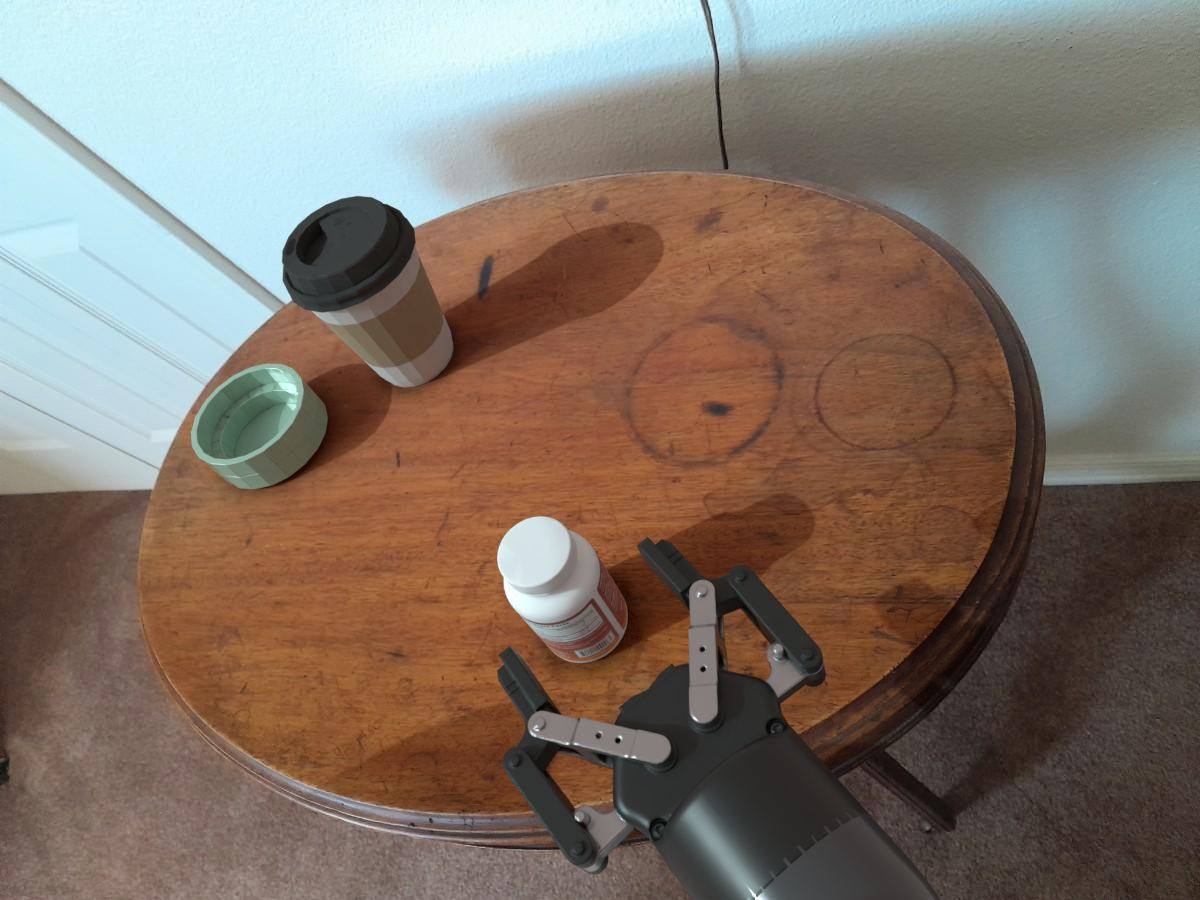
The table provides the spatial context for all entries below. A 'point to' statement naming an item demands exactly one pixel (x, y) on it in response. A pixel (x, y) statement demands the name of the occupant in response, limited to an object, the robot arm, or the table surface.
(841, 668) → the table surface
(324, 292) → the coffee cup
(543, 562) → the pill bottle
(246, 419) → the bowl
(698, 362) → the table surface
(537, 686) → the robot arm
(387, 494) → the table surface
